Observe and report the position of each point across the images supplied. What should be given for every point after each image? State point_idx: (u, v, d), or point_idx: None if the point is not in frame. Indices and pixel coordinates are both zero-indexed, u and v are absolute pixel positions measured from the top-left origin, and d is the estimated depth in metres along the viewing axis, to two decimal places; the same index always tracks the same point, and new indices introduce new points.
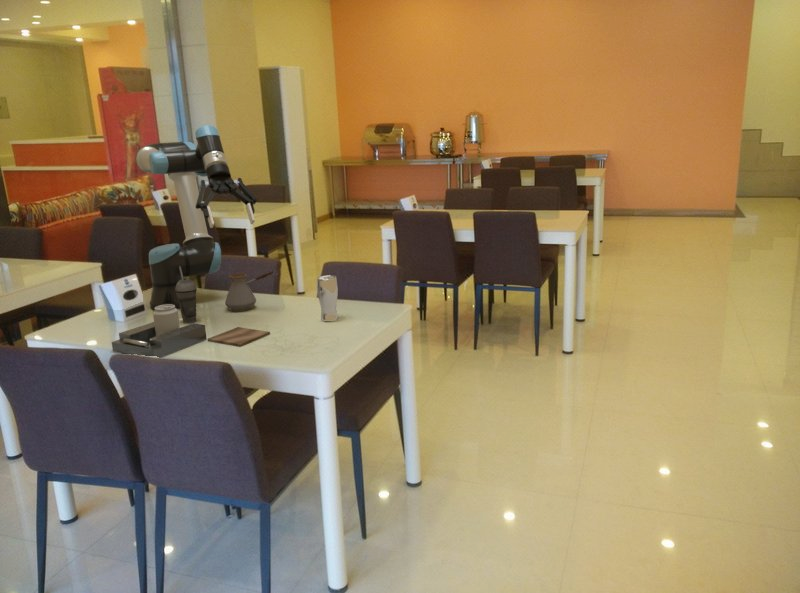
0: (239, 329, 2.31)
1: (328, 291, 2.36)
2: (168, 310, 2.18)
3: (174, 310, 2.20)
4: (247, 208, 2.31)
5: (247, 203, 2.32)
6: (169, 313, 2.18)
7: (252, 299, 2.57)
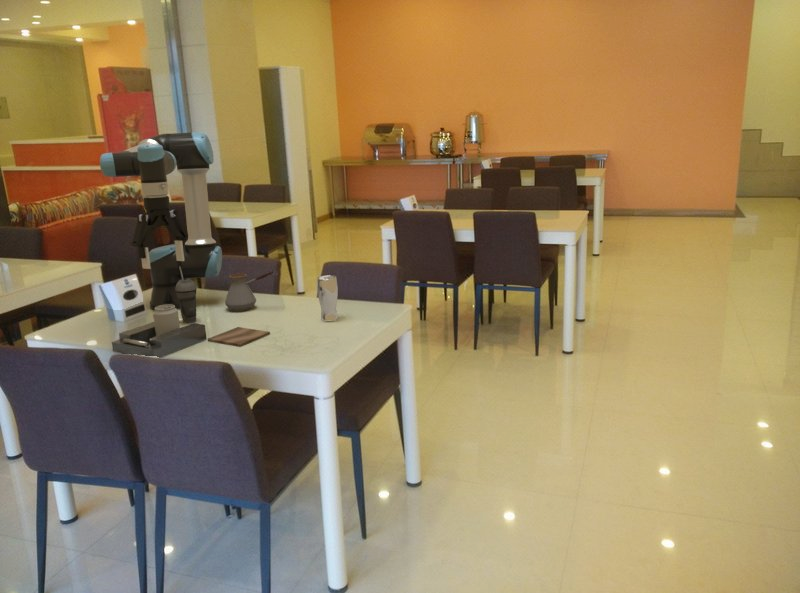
0: (239, 329, 2.31)
1: (328, 291, 2.36)
2: (168, 310, 2.18)
3: (174, 310, 2.20)
4: (177, 244, 2.22)
5: (177, 237, 2.22)
6: (169, 313, 2.18)
7: (252, 299, 2.57)
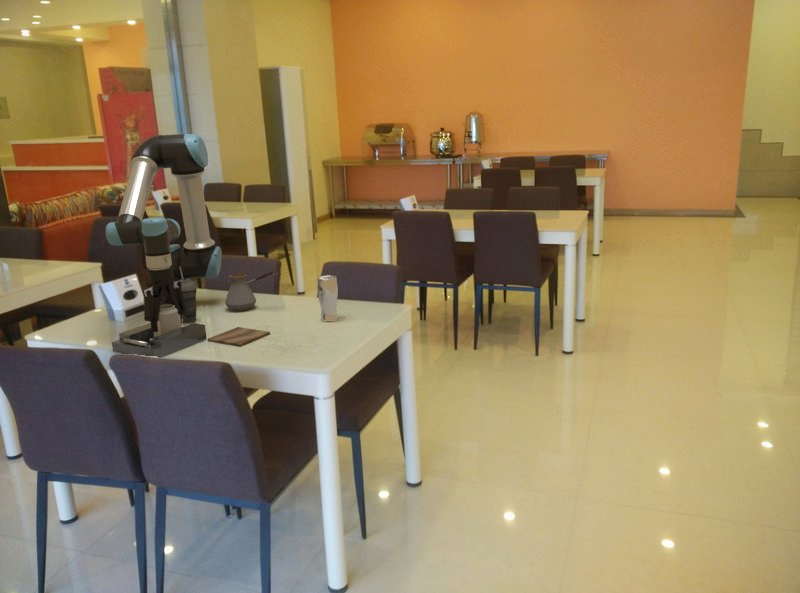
0: (239, 329, 2.31)
1: (328, 291, 2.36)
2: (168, 310, 2.18)
3: (174, 310, 2.20)
4: None
5: None
6: (169, 313, 2.18)
7: (252, 299, 2.57)
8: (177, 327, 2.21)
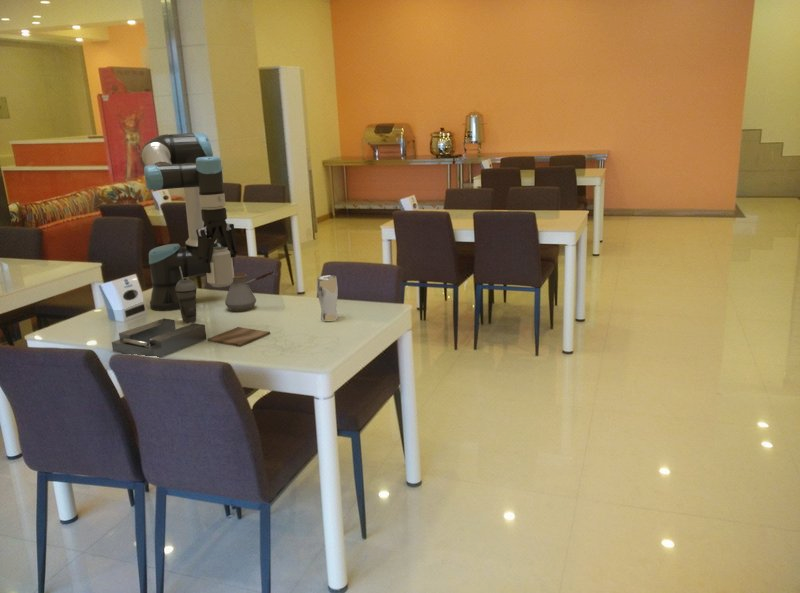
0: (239, 329, 2.31)
1: (328, 291, 2.36)
2: (221, 251, 2.15)
3: (227, 251, 2.16)
4: None
5: None
6: (222, 254, 2.14)
7: (252, 299, 2.57)
8: (230, 269, 2.17)
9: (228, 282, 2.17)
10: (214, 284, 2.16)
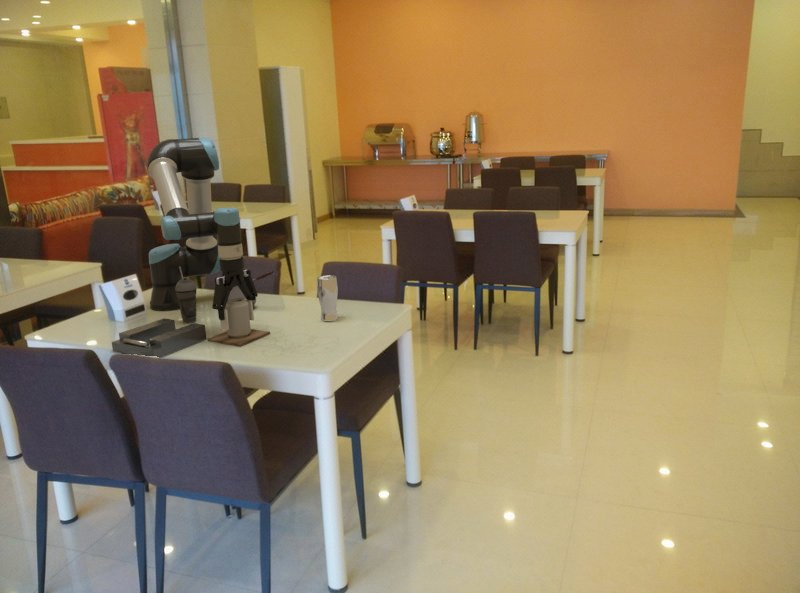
0: None
1: (328, 291, 2.36)
2: (240, 303, 2.20)
3: (245, 303, 2.21)
4: None
5: (247, 297, 2.27)
6: (241, 306, 2.19)
7: None
8: (248, 320, 2.23)
9: (246, 333, 2.22)
10: (232, 335, 2.21)
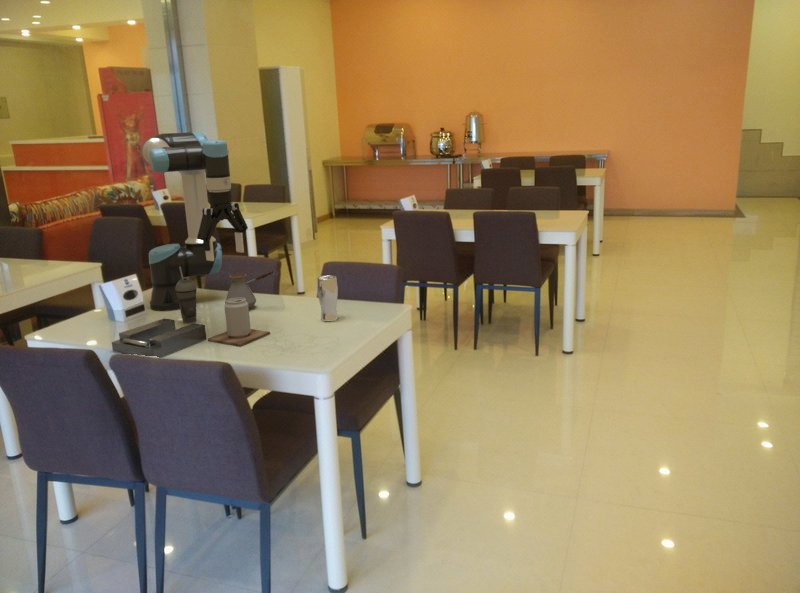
0: None
1: (328, 291, 2.36)
2: (240, 303, 2.20)
3: (245, 303, 2.21)
4: (237, 236, 2.29)
5: (237, 229, 2.29)
6: (240, 306, 2.19)
7: (252, 299, 2.57)
8: (248, 320, 2.23)
9: (246, 333, 2.22)
10: (232, 335, 2.21)
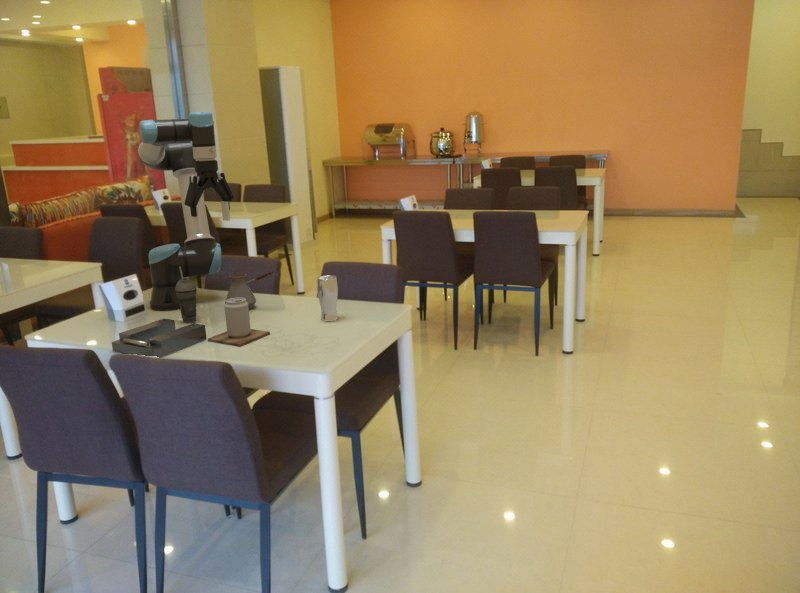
0: None
1: (328, 291, 2.36)
2: (240, 303, 2.20)
3: (245, 303, 2.21)
4: (223, 205, 2.40)
5: (223, 198, 2.40)
6: (240, 306, 2.19)
7: (252, 299, 2.57)
8: (248, 320, 2.23)
9: (246, 333, 2.22)
10: (232, 335, 2.21)
